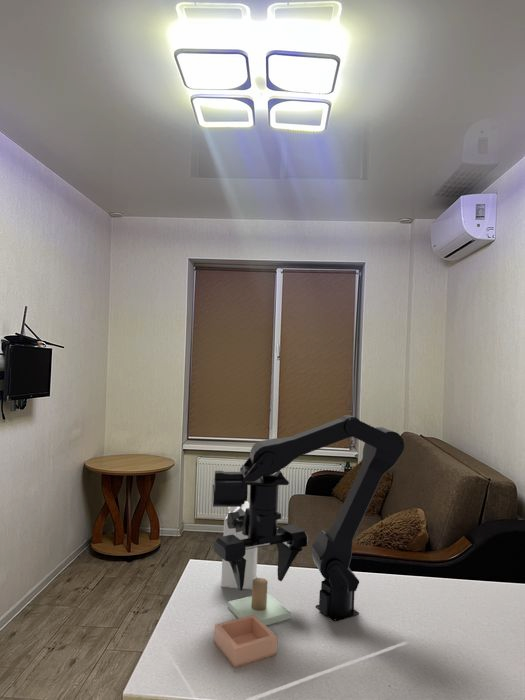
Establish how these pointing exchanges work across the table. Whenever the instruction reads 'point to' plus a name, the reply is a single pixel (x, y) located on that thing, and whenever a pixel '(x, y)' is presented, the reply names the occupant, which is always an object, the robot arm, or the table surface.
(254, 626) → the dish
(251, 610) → the lid
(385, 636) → the table surface
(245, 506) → the milk carton
